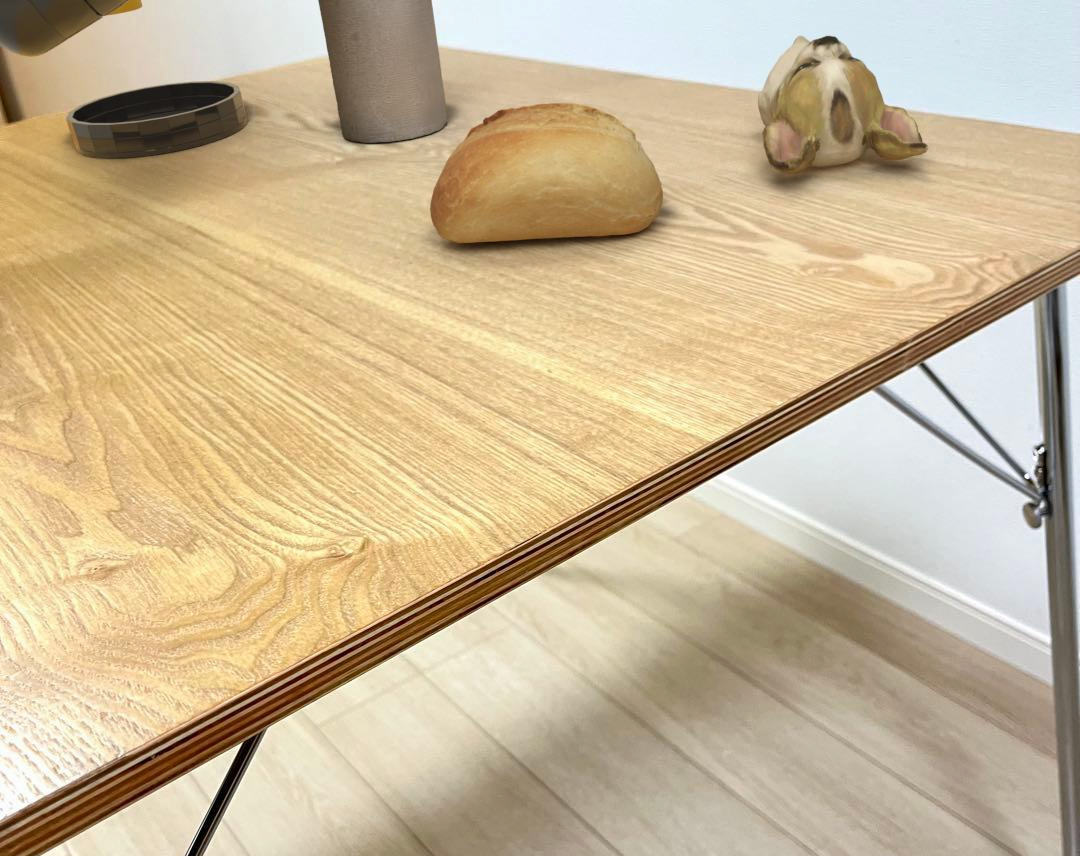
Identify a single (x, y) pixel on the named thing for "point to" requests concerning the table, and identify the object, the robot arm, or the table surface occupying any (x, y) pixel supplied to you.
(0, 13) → the robot arm
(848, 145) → the ceramic sculpture
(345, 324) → the table surface
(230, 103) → the pan
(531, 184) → the bread roll
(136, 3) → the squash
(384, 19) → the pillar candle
